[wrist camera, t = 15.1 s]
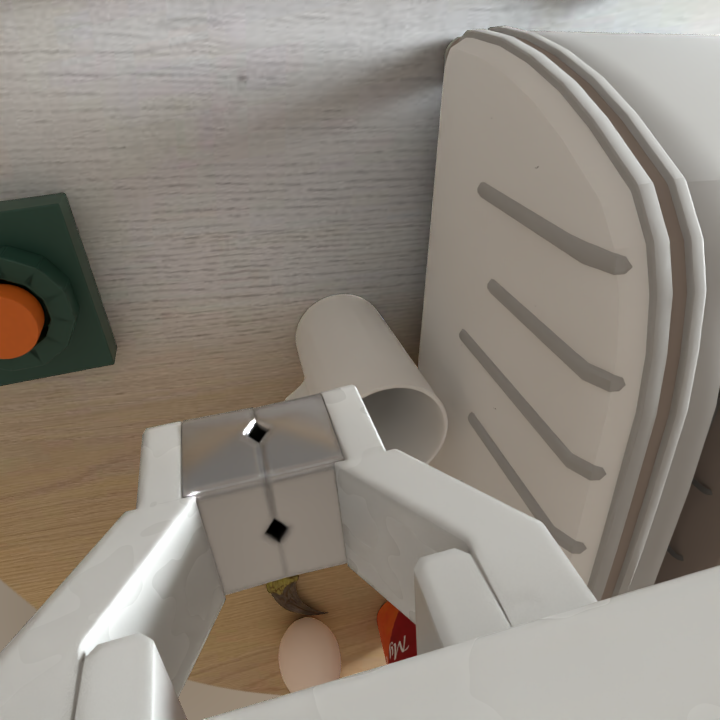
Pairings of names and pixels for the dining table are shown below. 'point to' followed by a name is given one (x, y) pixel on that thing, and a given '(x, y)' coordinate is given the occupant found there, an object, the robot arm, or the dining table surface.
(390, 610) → the coffee cup
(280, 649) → the egg
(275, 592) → the knife
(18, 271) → the button box
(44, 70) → the dining table surface
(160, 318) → the dining table surface
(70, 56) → the dining table surface
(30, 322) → the button
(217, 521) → the robot arm
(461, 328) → the toaster
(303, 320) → the mug
